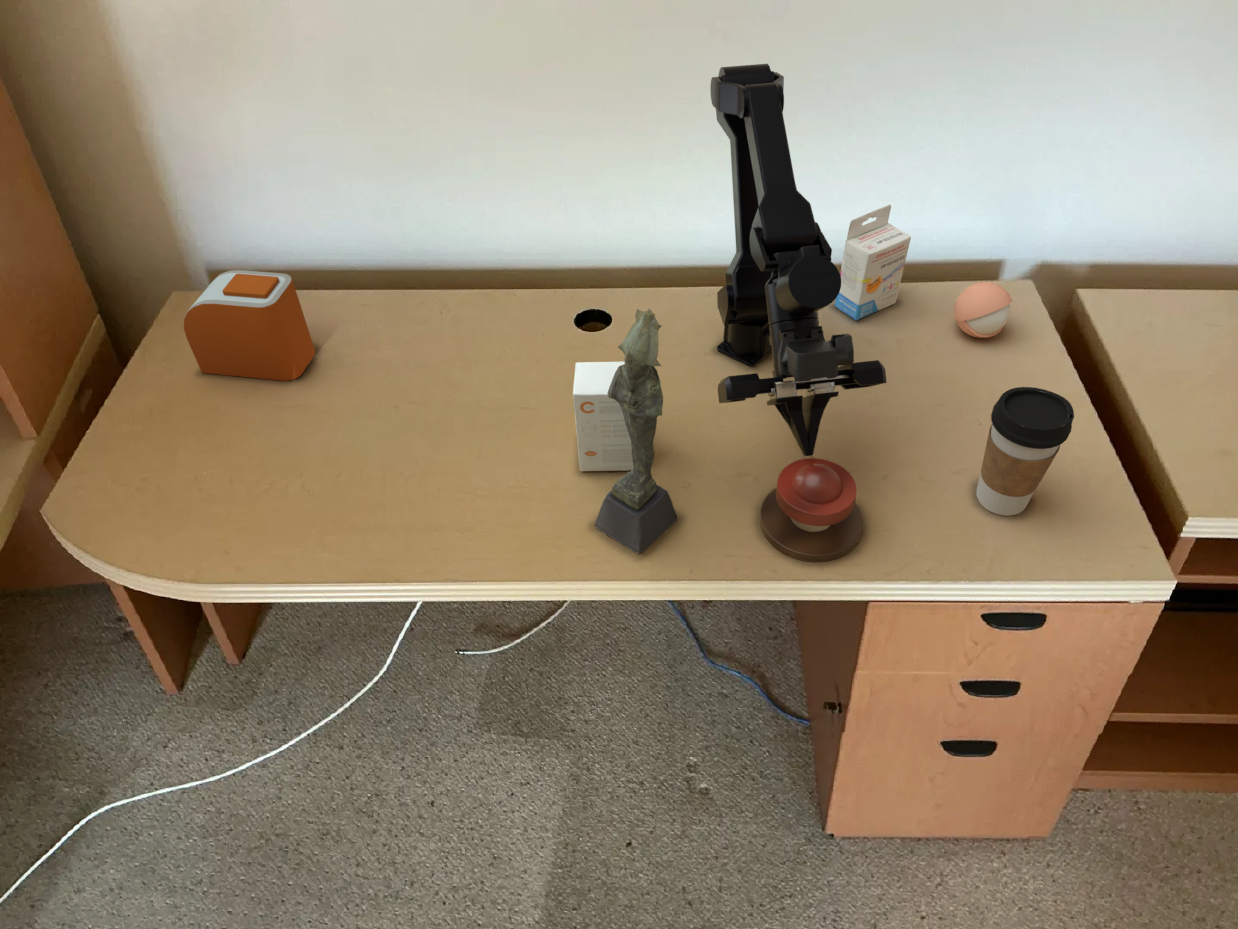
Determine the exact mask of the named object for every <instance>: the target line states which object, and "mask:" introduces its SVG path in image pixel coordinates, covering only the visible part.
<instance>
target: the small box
mask: <svg viewBox="0 0 1238 929" xmlns="http://www.w3.org/2000/svg"><path fill="white" fill-rule="evenodd" d="M624 364H625V361H576V362H575V365H574V366H575V367H574V375H573V376H574V377H573V387H572V399H573V407H574V408H573V410H574V420H575V430H576V441H577V442H576V443H577V453H578V465H579V470H580V472H620V471H621V472H624V471H627V472H628V471H631V470H632V469H633V459H632V445H631V439H630V436H629V433H628V430H627V427H626V424H625V420H624V416H623V412H622V409H621V407H620V404H619V403H618V402H617V401H616V400H614V399H612V398H609V396H608V394H607V393H608V390H609V387H610V384H611V382H612V379H613V377H614V374H615V372H616V370H617V368H618V367H619V366H621V365H624Z"/></svg>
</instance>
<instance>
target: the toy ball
mask: <svg viewBox="0 0 1238 929" xmlns="http://www.w3.org/2000/svg"><path fill="white" fill-rule="evenodd" d="M1012 302H1013V299H1012V297H1011V295H1010V293H1009V291H1007V289H1005V288H1004V287H1003V286H1001V285H1000V284H998V283H995V282H992V281H982V282H981V281H980V282H975V283H974V284H971V285H969V286H967V287H966V288H964V289H963V290H962V291H961V292H960V293H959V295H958V297H957V298H956V300H955V303H954V305H953V306H954V307H953V317H954V321H955V322H956V324H957V326H958V327H959V328H960V330H961V331H962V332H964V333H965V334H966V335H969V336H971V337H974V338H979V339H983V338H990V337H995V336H996V335H997V334H999V333H1000V332H1001V331H1002V330H1003V328H1004V326H1005V325H1006V324H1007V322H1008V320H1009V317H1010V313H1011V303H1012Z"/></svg>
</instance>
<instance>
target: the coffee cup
mask: <svg viewBox="0 0 1238 929" xmlns="http://www.w3.org/2000/svg"><path fill="white" fill-rule="evenodd" d="M1074 418H1075V411H1074V408H1073V406H1072V404H1071V402H1070V401H1069V400H1068V399H1066V398H1065V396H1062V395H1060V394H1058V393H1055V392H1053V391H1051V390H1047V389H1044V388H1038V387H1034V386H1033V387H1032V386H1018V387H1014V388H1010V389H1008V390H1006V391H1005V392H1003V393H1002V394H1001V395H1000V397H999V398H998V400H997V401H996V402H995V404H994V405H993V407H992V411H991V413H990V420H991V425H990V427H989V430H988V434H987V439H986V443H985V450H984V454H983V459H982V464H981V468H980V474H979V478H978V483H977V487H976V491H975V495H976V499H977V501H978V502H979V504H980V505H981V506H982V507H983V508H984V509H985V510H987V511H988V512H991V513H992V514H995V515H999V516H1006V517H1009V516H1015V515H1018V514H1021V513H1022V512H1023V511H1025V509H1026V508H1027V506H1028V504H1029V503H1030V501H1031V499H1032V497H1033V495H1034V494H1035V492H1036V490H1037V489H1038V486H1039V485H1040V483H1041V481H1042V480H1043V478H1044V476H1045V475H1046V473H1047V472H1048V470H1049V468H1050V466H1051V465H1052V463H1053V462H1054V459H1055V458H1056V456H1057V455H1058V453H1059V451H1060V448H1061V445H1062V444H1064V442H1066V441H1067V440H1068V438H1069V436H1070V434H1071V433H1072V429H1073V425H1072V424H1073V421H1074Z"/></svg>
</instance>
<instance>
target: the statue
mask: <svg viewBox="0 0 1238 929" xmlns="http://www.w3.org/2000/svg"><path fill="white" fill-rule="evenodd" d="M634 317H635V322H634V323H633V325H632V326H631V327H630V329H629V331H628V333H627V334H626V336H625V338H624V339H623V341H622V342H621V343H620V344H619V345H618V346H617V348H618V349H620V351H621V352H622V353H623V354H624V361H625V364H624V365H621V366H619V367H618V368H617V370H616V372H615V374H614V377H613V379H612V382H611V384H610V387H609V390H608V393H607V394H608V396H609V398H612V399H614V400H616V401H617V402H618V403H619V404H620V407H621V409H622V412H623V416H624V420H625V424H626V427H627V430H628V433H629V436H630V439H631V445H632V459H633V469H632V470H629V472H627V473H625V475H623V476H621V477H620V478H619V479H618V480H616V482H615V483H614V484H613V485H612V487H611V490H610V491H609V492H608V493H607V494H606V495H605V497H604V499H603V501H602V503H601V506H600V509H599V512H598V515H597V518H596V520H595V523H594V527H595V528H596V529H597V530H599V531H600V532H602V534H605V535H606V536H608V537H609V538H611V539H612V540H614V541H616V542H618V543H619V544H620V545H622V546H623V547H625V548H627V549H628V550H631V551H632V552H634V553H635V554H637V555H641V554H642V553H644V552H645V551H646V550H647V549H649V548H650V547H651V546H652V544H654V543H655V542H656V541H657V540H658V539H660V537H661V536H663V535H664V533H665V532H667V531H668V530H669V529H670V528H671V527H672V526H673V525H674V524H675V523H676V521H677V520H678V518H679V517H678V515H677V511H676V509H675V507H674V504H673V501H672V499H671V497H670V494H669V491H668V490H666V489H664V487H662V486H660V485H658V484H657V481H656V479H654V478H653V476H652V466H653V462H654V458H655V449H654V439H655V435H656V431H657V423H658V417H660V416H663V405H664V393H663V390H662V385H661V378H660V376H659V373H658V370H657V369H656V367H662V364H661V363H660V362H659V361H658V355H659V330H660V328H662V325H661V324H660V323H659V322H658V320H657V319H656V314H655V313H654V312H653V311H652V310H651V309H650V308H648V309H647V310H646V311H643V310H641V309H638V308H637V309H636V311H635V316H634Z"/></svg>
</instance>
